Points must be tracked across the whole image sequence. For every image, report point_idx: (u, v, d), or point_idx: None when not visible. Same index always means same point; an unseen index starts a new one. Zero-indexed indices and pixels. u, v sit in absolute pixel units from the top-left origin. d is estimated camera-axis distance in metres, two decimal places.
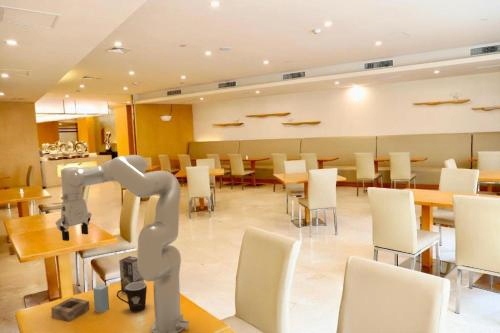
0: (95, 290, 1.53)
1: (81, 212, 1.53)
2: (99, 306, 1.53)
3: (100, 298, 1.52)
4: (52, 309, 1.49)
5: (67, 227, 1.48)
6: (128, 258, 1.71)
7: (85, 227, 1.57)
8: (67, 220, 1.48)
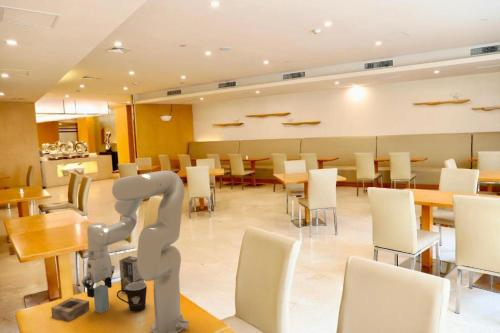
0: (95, 290, 1.53)
1: (106, 267, 1.54)
2: (99, 306, 1.53)
3: (100, 298, 1.52)
4: (52, 309, 1.49)
5: (92, 284, 1.49)
6: (128, 258, 1.71)
7: (109, 281, 1.58)
8: (93, 277, 1.48)
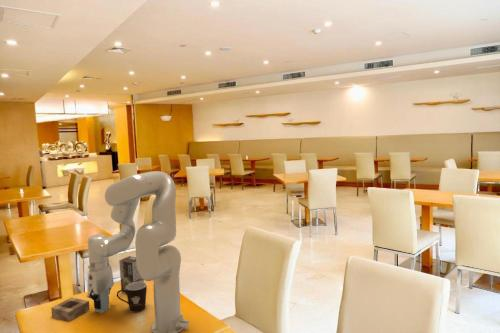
0: None
1: (107, 279, 1.54)
2: None
3: (100, 298, 1.52)
4: (52, 309, 1.49)
5: (98, 296, 1.51)
6: (128, 258, 1.71)
7: None
8: (94, 289, 1.49)
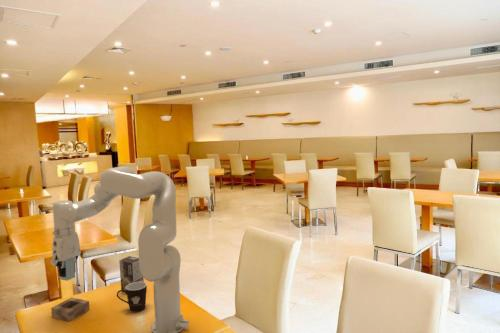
0: None
1: (73, 246, 1.50)
2: None
3: (65, 265, 1.48)
4: (52, 309, 1.49)
5: (63, 263, 1.47)
6: (128, 258, 1.71)
7: None
8: (58, 256, 1.45)
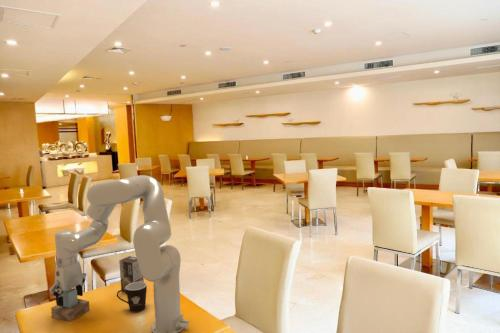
0: (63, 294, 1.50)
1: (75, 275, 1.51)
2: None
3: (68, 302, 1.49)
4: (52, 309, 1.49)
5: (61, 292, 1.46)
6: (128, 258, 1.71)
7: (80, 289, 1.55)
8: (61, 285, 1.46)
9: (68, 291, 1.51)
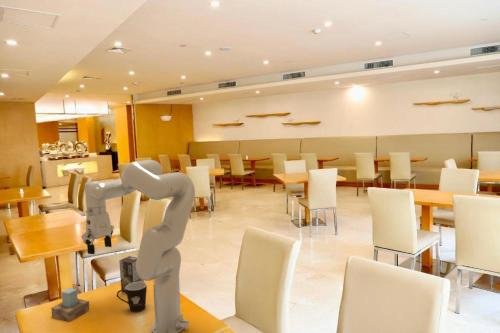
0: (63, 294, 1.50)
1: (105, 225, 1.54)
2: None
3: (68, 302, 1.49)
4: (52, 309, 1.49)
5: (92, 240, 1.50)
6: (128, 258, 1.71)
7: (108, 240, 1.59)
8: (92, 233, 1.49)
9: (68, 291, 1.51)
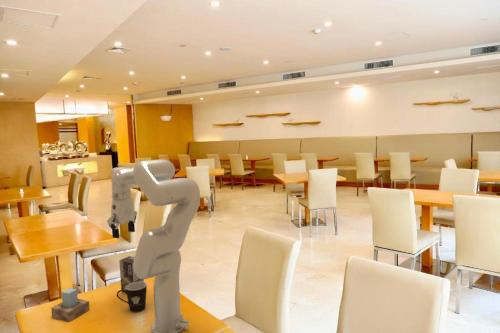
0: (63, 294, 1.50)
1: (129, 210, 1.58)
2: None
3: (68, 302, 1.49)
4: (52, 309, 1.49)
5: (117, 225, 1.54)
6: (128, 258, 1.71)
7: (132, 225, 1.63)
8: (117, 218, 1.53)
9: (68, 291, 1.51)
